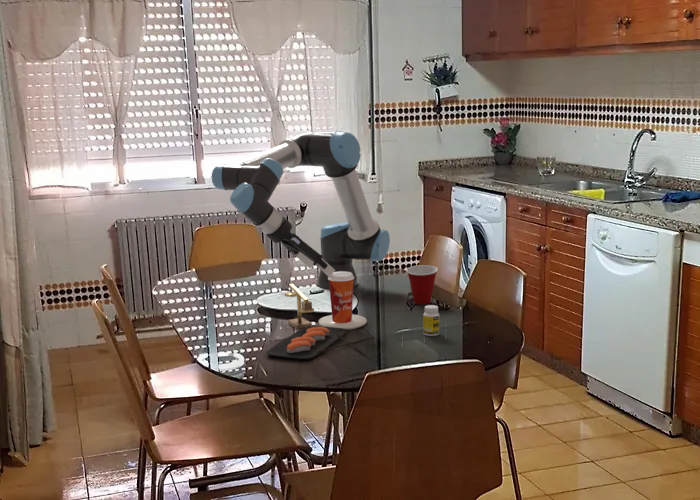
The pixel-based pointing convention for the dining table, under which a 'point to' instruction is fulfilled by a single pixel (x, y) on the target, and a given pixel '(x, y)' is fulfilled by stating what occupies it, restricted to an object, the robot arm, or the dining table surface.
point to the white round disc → (355, 323)
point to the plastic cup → (422, 282)
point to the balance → (305, 308)
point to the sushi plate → (311, 342)
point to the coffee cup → (341, 296)
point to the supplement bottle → (431, 320)
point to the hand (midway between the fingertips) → (322, 269)
